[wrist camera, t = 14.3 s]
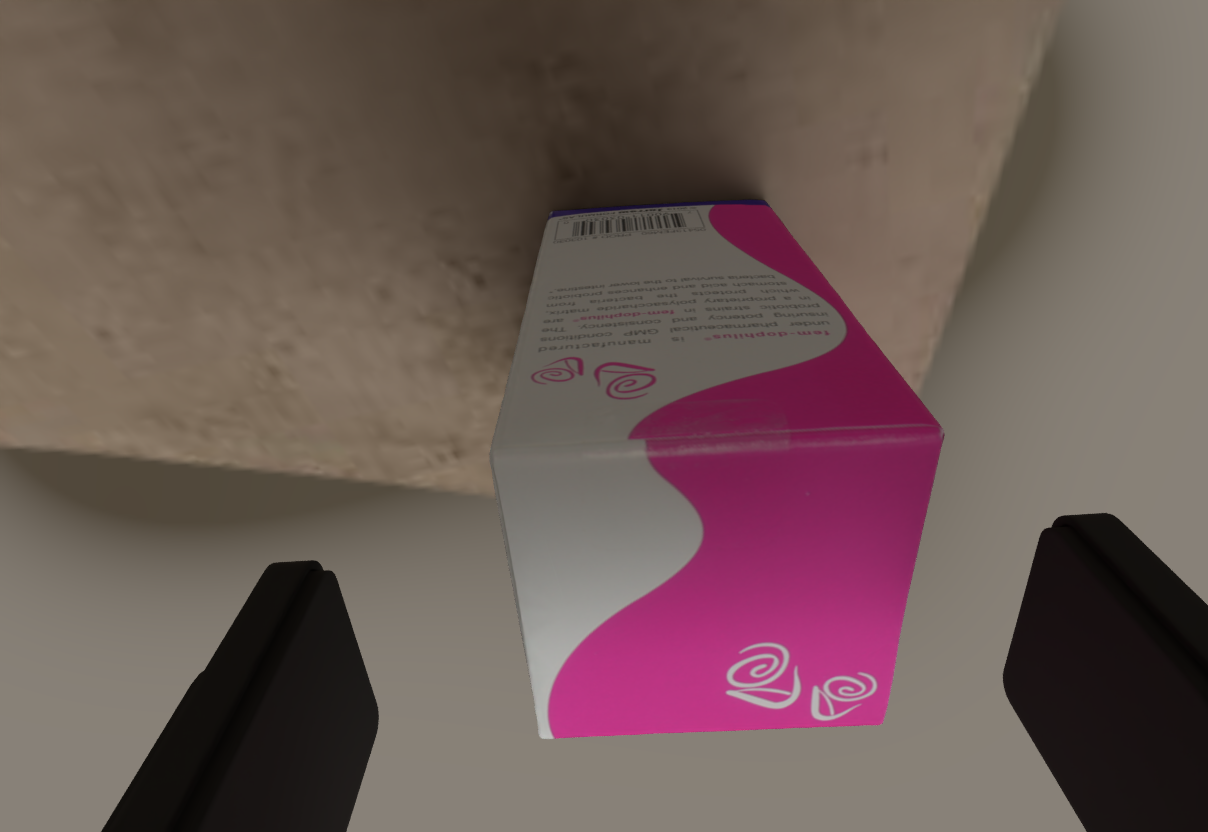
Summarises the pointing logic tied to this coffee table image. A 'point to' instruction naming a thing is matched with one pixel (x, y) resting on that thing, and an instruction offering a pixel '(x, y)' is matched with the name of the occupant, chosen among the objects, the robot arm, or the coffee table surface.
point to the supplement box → (704, 480)
